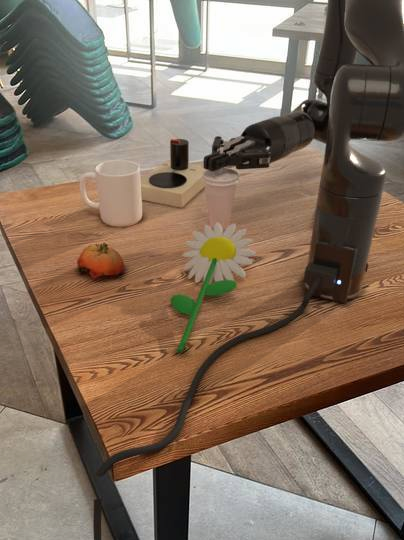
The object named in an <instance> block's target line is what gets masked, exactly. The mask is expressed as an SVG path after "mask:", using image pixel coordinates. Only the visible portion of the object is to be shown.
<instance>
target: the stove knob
mask: <svg viewBox="0 0 404 540" xmlns="http://www.w3.org/2000/svg"><path fill="white" fill-rule="evenodd" d="M189 143H190V142H189V141H188V140H187V139H185V138H170V141H169V154H170V155H169V156H170V157H169V158H170V159H169V160H170V163H171V168H172V169H174V170H186V169H188V167H189V164H190V163H189V162H190V160H189V155H190V154H189V153H190V152H189V150H190V147H189V145H190V144H189Z"/></svg>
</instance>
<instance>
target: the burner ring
mask: <svg viewBox="0 0 404 540" xmlns="http://www.w3.org/2000/svg"><path fill="white" fill-rule="evenodd" d="M186 182H187V178H186V177H185V176H184V175H182V174H178V173H173V172H163V173H157V174H154V175H152V176H151V177H150V178H149V183H150V184H151V185H153V186H156V187H160V188H176V187H180V186H182V185H184V184H185V183H186Z"/></svg>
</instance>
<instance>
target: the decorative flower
mask: <svg viewBox="0 0 404 540" xmlns="http://www.w3.org/2000/svg"><path fill="white" fill-rule="evenodd" d="M236 227H237V225H236V223H231V224H229V226H228V227H227V228H226V229H223V230H222V226H221V225H220V223H218V222H217V223H216V224H215V226H214V229H212V228H211V227H210V226H209V224H204V226H203V233H202V232H200V231H198V230H193V231H192V233H191V236H192V237H193V239H194V240H187V241H185V242H184V245H185V246H186V247H187V248H188V249H192V250H189V251H186V252H184V253H182V254H181V256H182V257H184V258H188V259H189V261H188V262H186V263H185V265H184V266H183V269H182V271H184V272H187V271H189V270H190V271H189V273H188V276H187V280H189V279H190V280H191V279H192V278H194V282H195V284H198V283H199V282H200V281H201V280H202V281H203V283H202V285H201V288H200V290H199V292H198V293H199V294H198V296H197V298H196V301H195V300H194V299H193V298H192V297H190V296H188V295H185V294H182V293H176V294H172V296H171V297H170V304H171V306H172V307H173V308H174V310H175V311H177V312H179V313H181V314H184V315H189V316H190V317H189V319H188V322H187V324H186V326H185V329H184V331H183V334H182V337H181V340H180V342H179V345H178V347H177V350H176V352H177V353H178V354H183V353H184V350H185V347H186V345H187V342H188V339H189V336H190V334H191V331H192V330H193V329H192V328H193V326H194V323H195V321H196V318H197V316H198V313H199V310H200V307H201V305H202V303H203V300H204V297H205V295H206V296H212V297H217V296H222V295H225V294H227V293H230V292H232V291H234V290H235V289H236V288H237V286H238V282H237V281H235V278H234V277H235V276H234V274H235V275H236V276H238V277H239V278H247V273H246V272H245V270H244V268H242V267H241V266H251V265H253V261H252V260H251V259H249V258H250V257H253V256H256V255H257V253H256V251H255V250H252V249H250V248H246V247H248V246H249V245H251V244H252V243H253V240H254V239H253V238H244V237H245V235H246V233H247V228H242V229H240V230H237V231H236ZM235 231H236V232H235ZM190 258H191V259H190ZM213 280H214V282H213Z"/></svg>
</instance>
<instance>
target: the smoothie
mask: <svg viewBox="0 0 404 540" xmlns="http://www.w3.org/2000/svg"><path fill="white" fill-rule="evenodd" d="M222 153H223V147H221V148H220V154H222ZM239 176H240V175H239V173H238V171H236V170H235V169H232V168H227V167H224V168H221V169H219V170H216V171H214V172H212V171H209V170H206V171H204V172H203V178H202V180H203V181H204V183H205V187H204V191H205V201H206V210H207V218H208V225H209V226H210V227H211V228H212V230H214V226H215V224H216V223H217V222H218V223H220V225H221V226H222V230H223V231H224V230H226V229H227V227H228V226H230V221H231V216H232V212H233V211H232V210H233V207H234V205H233V204H234V199H235V193H236V189H237V183H238V182H239V181H240V180H239Z"/></svg>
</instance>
